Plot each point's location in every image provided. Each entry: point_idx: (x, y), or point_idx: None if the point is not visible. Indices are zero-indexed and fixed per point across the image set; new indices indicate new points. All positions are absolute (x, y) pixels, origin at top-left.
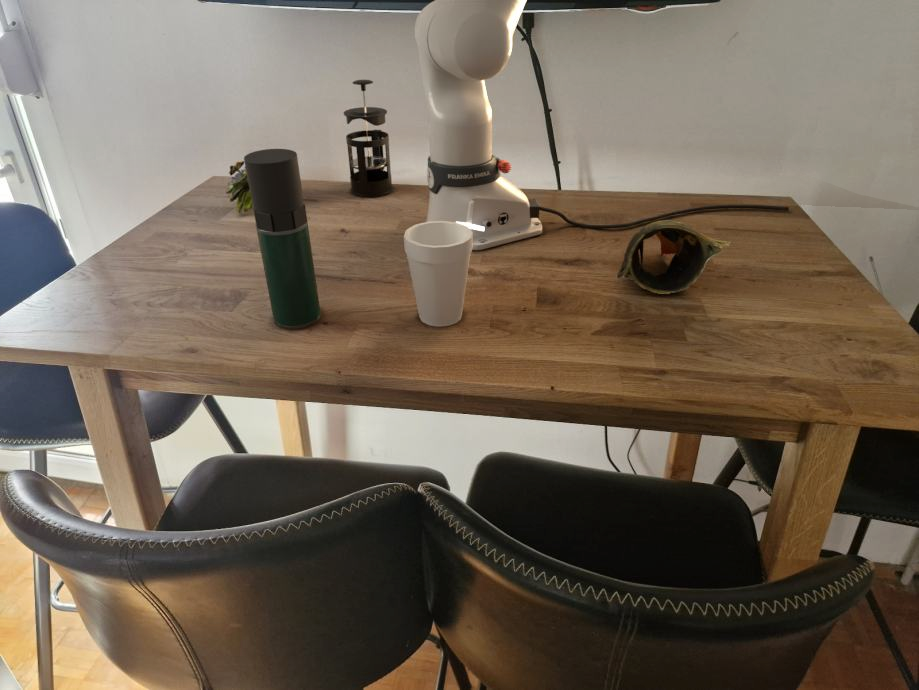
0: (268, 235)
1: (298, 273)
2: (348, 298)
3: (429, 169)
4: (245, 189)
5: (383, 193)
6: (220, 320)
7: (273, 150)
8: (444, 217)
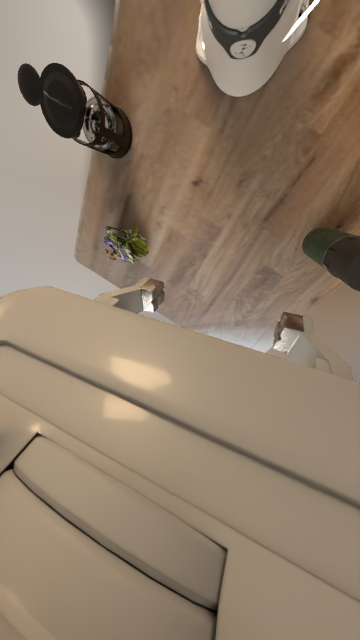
0: None
1: None
2: (314, 203)
3: (245, 42)
4: (131, 250)
5: (128, 122)
6: (290, 283)
7: (357, 264)
8: (268, 57)
